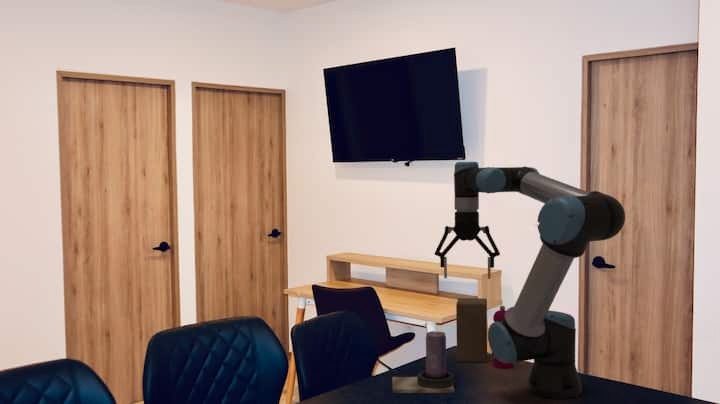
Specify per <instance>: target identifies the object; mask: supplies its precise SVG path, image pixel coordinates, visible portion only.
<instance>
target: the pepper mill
mask: <svg viewBox="0 0 720 404" xmlns="http://www.w3.org/2000/svg"><path fill="white" fill-rule="evenodd" d="M506 311H507V309H506V307H505V305H501V306H499V310H497V311H496V312H494V314H493V317H492V319H493V320H492V321H493V323H494V322H496V321H499V322H500V321H501V320H502V319H503V316H504V314H505V312H506ZM491 355H492V357H493V358H494V359H492V360H493V361H492V362H493V363H492V365H493V367H494V368H498V369H499V368H500V369H508V368H509V369H510V368H512V367H513V363H502V362H500V361H499V360H498V359H497V358H496V357H495V356H494V354H493V353H492V352H491Z"/></svg>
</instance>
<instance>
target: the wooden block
mask: <svg viewBox="0 0 720 404" xmlns="http://www.w3.org/2000/svg"><path fill="white" fill-rule="evenodd" d="M455 305H456V307H455V310H456V314H455V315H456V317H455V319H456V321H455V322H456V362H462V363H463V362H466V363H467V362H470V363H487V361H488V300H487V298H481V297H480V298H479V297H478V298H476V297H470V298H469V297H459V298H458V299H457V301H456V304H455Z"/></svg>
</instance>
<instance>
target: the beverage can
mask: <svg viewBox="0 0 720 404" xmlns="http://www.w3.org/2000/svg"><path fill="white" fill-rule="evenodd" d="M425 364H426V365H425V367H426V369H425V371H426V378H427V379H445V378H446V371H447V336H446V333H445V332H444V331H437V330H436V331H434V330H433V331H428V332H426V337H425Z"/></svg>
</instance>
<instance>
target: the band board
mask: <svg viewBox="0 0 720 404" xmlns="http://www.w3.org/2000/svg"><path fill="white" fill-rule="evenodd" d="M391 379H392V380H391V381H392V386H391V387H392V394H413V393H414V394H428V393H429V394H442V393H443V394H448V393H449V394H450V393H452V394H454V393H455V388H454V385H455V374H454V373H453V372H451V371H448V370H446V378H445V379H427V378H426V370H422V371H420V372H418V373H417V376H391Z"/></svg>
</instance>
